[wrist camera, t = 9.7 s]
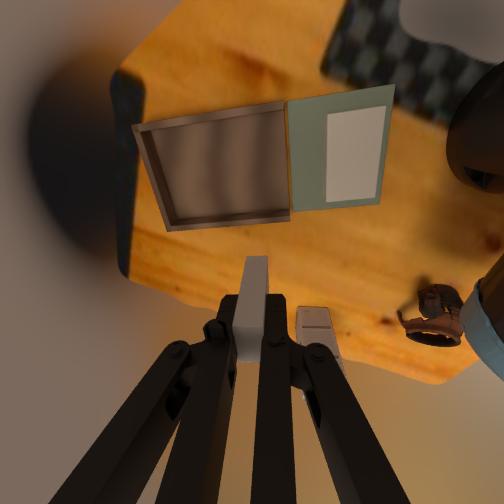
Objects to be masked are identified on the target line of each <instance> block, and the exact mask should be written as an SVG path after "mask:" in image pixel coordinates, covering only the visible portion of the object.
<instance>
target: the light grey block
mask: <svg viewBox="0 0 504 504" xmlns="http://www.w3.org/2000/svg"><path fill="white" fill-rule="evenodd" d="M385 111H386V106H377V107H370V108H363V109H357V110H350V111H343V112H337V113H330V114H323V194H322V196H323V197H324V199H325V201H326V202H334V201H345V200H355V199H366V198H375V194H376V186H377V177H378V169H379V161H380V153H381V144H382V136H383V128H384V120H385Z"/></svg>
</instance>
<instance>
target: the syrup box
mask: <svg viewBox="0 0 504 504" xmlns="http://www.w3.org/2000/svg"><path fill="white" fill-rule="evenodd" d="M295 328H296V338H297V343H298V344H300V345H303V346H307V345H308V344H311V343H321V344H324V345H326V346H327V347H329V349H330V350H331V351H332V353H333V355H334V357H335V359H336V361H337V363H338V364H339V366H340V368H341V370H342V372H343V374H344V376H345V378H346V375H345V371H344V368H343V363H342V360H341V356H340V352H339V348H338V345H337V341H336V337H335V334H334V330H333V326H332V323H331V319H330V315H329V312H328V309H327V308H322V307H298V308H297V315H296V327H295ZM346 380H347V378H346ZM302 399H303V401H306V399H305V396H304V393H303V390H302Z"/></svg>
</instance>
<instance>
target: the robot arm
mask: <svg viewBox="0 0 504 504" xmlns="http://www.w3.org/2000/svg"><path fill="white" fill-rule="evenodd" d="M447 159H448V163H449V166H450V168H451V170H452V172H453V173H454V175H455V176H456V177H457V178H458V179H459V180H460V181H461V182H463V183H464V184H466V185H468V186H471V187H473V188H476V189H479V190H481V191H485V192H489V193H495V194H504V61H503V62H502V63H500V64H499V65H498V66H496V67H495V68H494V69H493V70H491V71H490V72H489V73H488V74H487V75H486V76H485V77H484V78H483V79H482V80H481V81H480V82H479V83H478V84H477V85H476V86H475V87H474V88H473V89H472V91H471V92H470V93H469V94H468V96H467V97H466V98H465V100H464V101H463V103H462V104H461V106H460V108H459V109H458V111H457V113H456V115H455V117H454V119H453V122H452V124H451V127H450V130H449V134H448V139H447ZM459 319H460V324H461V327H462V330H463V331H464V333H465V337H466V339H467V341H468V342H469V344H470V346H471V347H472V349H473V350H474V351H475V353H476V354H477V355H478V356H479V357H480V359H481V360H482V361H483V362H484V363H485V364H486V365H487V366H488V367H489V368H490V369H491V370H492V371H493V372H494V373H495V374H496V375H497V376H498V377H499V378H501V379H502V380H503V381H504V254H503V255H502V256H501V257H500V259H499V260H498V261H497V262H496V263H495V265H494V266H493V267H492V268H491V269H490V271H489V272H488V273H487V274H486V275H485V277H483V278H481V279H479V280H478V281H477V282H476V283H475V286H474V290H473V292H472V293H471V294H470V296H469V297H468V299H467V300H466V302H465V303H464V304H463V306H462V308H461V310H460V317H459ZM203 331H204V335H205V340H204V341H202V342H199V343H196V344H192V345H189V344H188V343H187V342H185V341H180V340H179V341H174V342H172V343H171V344H169V345H168V346H167V347H166V348H165V349H164V350H163V352H162V353H161V354H160V355H159V357H158V358H157V360H156V361H155V362H154V364H153V365H152V366H151V368H150V369H149V370H148V371H147V373H146V374H145V375H144V377H143V378H142V380H141V381H140V382H139V383H138V385H137V386H136V387H135V389H134V390H133V391H132V393H131V394H130V396H129V397H128V398H127V400H126V401H125V402H124V404H123V405H122V406H121V407H120V409H119V410H118V411H117V413H116V414H115V415H114V417H113V418H112V419H111V421H110V422H109V424H108V425H107V426H106V427H105V429H104V430H103V431H102V433H101V434H100V436H99V437H98V438H97V439H96V441H95V442H94V443H93V445H92V446H91V448H90V449H89V450H88V451H87V453H86V454H85V455H84V457H83V458H82V459H81V461H80V462H79V463H78V465H77V466H76V467H75V469H74V470H73V471H72V473H71V474H70V476H69V477H68V478H67V479H66V481H65V482H64V483H63V485H62V486H61V487H60V489H59V490H58V491H57V493H56V494H55V495H54V497H53V498H52V499H51V501H50V502H49V503H48V504H136V503H137V500H138V499H139V497H140V495H141V493H142V491H143V489H144V488H145V486H146V484H147V482H148V480H149V478H150V476H151V474H152V473H153V471H154V469H155V467H156V465H157V463H158V461H159V459H160V457H161V455H162V454H163V452H164V450H165V448H166V446H167V444H168V442H169V440H170V438H171V437H172V435H173V433H174V431H175V429H176V427H177V425H178V423H179V422H180V424H179V427H178V430H177V434H176V437H175V440H174V443H173V446H172V450H171V453H170V456H169V459H168V462H167V466H166V469H165V472H164V475H163V479H162V482H161V485H160V488H159V491H158V495H157V498H156V501H155V504H217V501H218V494H219V488H220V481H221V475H222V468H223V461H224V454H225V448H226V441H227V435H228V428H229V421H230V414H231V407H232V401H233V394H234V387H235V381H236V375H237V368H236V362H237V358H238V362H249V363H250V362H251V363H260V370H259V385H258V400H257V414H256V428H255V443H254V457H253V471H252V486H251V500H250V504H297V503H296V485H295V484H296V483H295V463H294V444H293V423H292V403H291V386H293V387H296V388H298V389H301V390H303V393H304V396H305V399H306V402H307V405H308V408H309V410H310V414H311V417H312V420H313V423H314V426H315V429H316V432H317V435H318V438H319V441H320V444H321V447H322V450H323V453H324V456H325V459H326V462H327V464H328V468H329V470H330V474H331V476H332V479H333V483H334V486H335V489H336V492H337V494H338V497H339V500H340V503H341V504H411V503H410V501H409V499H408V497H407V495H406V493H405V492H404V490H403V488H402V486H401V484H400V482H399V480H398V478H397V476H396V474H395V473H394V471H393V469H392V467H391V465H390V463H389V461H388V459H387V457H386V455H385V453H384V451H383V449H382V447H381V446H380V444H379V442H378V440H377V438H376V436H375V434H374V432H373V430H372V428H371V426H370V424H369V422H368V420H367V418H366V417H365V415H364V413H363V411H362V409H361V407H360V405H359V403H358V401H357V399H356V397H355V396H354V394H353V391H352V390H351V388H350V386H349V384H348V382H347V380H346V378H345V376H344V374H343V372H342V370H341V368H340V366H339V364H338V363H337V361H336V359H335V357H334V355H333V353H332V351H331V350H330V349H329V347H327V346H326V345H324V344H321V343H311V344H308V345H307V346H303V345H300V344H298V343H295V342H294V341H293V340H292V339H291V338H290V337H289V335H288V330H287V311H286V299H285V297H284V296H283V294H269V276H268V257H267V256H247V257H246V262H245V267H244V272H243V277H242V281H241V286H240V291H239V294H237V295H225V297H224V298H223V299H222V300H221V303H220V308H219V310H218V313H217V317H216V319H213V320H210V321H208V322H207V323H206V324H205V326H204V327H203ZM180 420H181V421H180Z"/></svg>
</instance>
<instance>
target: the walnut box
mask: <svg viewBox="0 0 504 504" xmlns="http://www.w3.org/2000/svg"><path fill="white" fill-rule="evenodd" d="M131 126H132V129H133V132H134V135H135V138H136V141H137V144H138V147H139V150H140V153H141V156H142V159H143V162H144V165H145V168H146V171H147V174H148V177H149V180H150V182H151V185H152V188H153V191H154V194H155V197H156V200H157V203H158V206H159V209H160V212H161V215H162V218H163V221H164V224H165V227H166V230H167V232H171V231H183V230H194V229H206V228H218V227H230V226H242V225H254V224H266V223H277V222H289V221H290V210H289V194H288V177H287V160H286V143H285V126H284V103H283V101H277V102H270V103H264V104H258V105H252V106H246V107H240V108H234V109H227V110H221V111H215V112H209V113H203V114H197V115H191V116H185V117H178V118H172V119H166V120H160V121H154V122H148V123H142V124H135V125H131Z"/></svg>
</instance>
